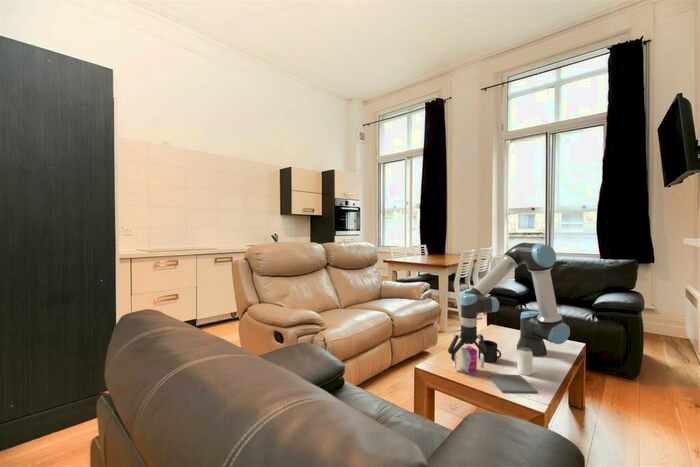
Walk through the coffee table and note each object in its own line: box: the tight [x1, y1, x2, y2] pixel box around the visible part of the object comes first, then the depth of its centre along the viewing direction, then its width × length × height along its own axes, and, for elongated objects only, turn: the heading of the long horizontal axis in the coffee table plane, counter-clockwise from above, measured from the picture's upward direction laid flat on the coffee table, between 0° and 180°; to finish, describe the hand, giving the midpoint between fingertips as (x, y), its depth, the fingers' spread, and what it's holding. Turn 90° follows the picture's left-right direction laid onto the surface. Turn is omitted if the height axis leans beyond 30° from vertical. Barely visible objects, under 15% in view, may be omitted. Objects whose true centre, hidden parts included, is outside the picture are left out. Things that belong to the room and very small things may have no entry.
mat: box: [488, 374, 538, 394], centre depth 149 cm, size 15×15×1 cm
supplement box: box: [459, 345, 478, 374], centre depth 163 cm, size 6×6×12 cm
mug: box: [477, 339, 502, 364], centre depth 176 cm, size 9×12×9 cm
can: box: [516, 347, 533, 377], centre depth 161 cm, size 6×6×12 cm
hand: (468, 367), depth 164 cm, fingers open, 13 cm apart
